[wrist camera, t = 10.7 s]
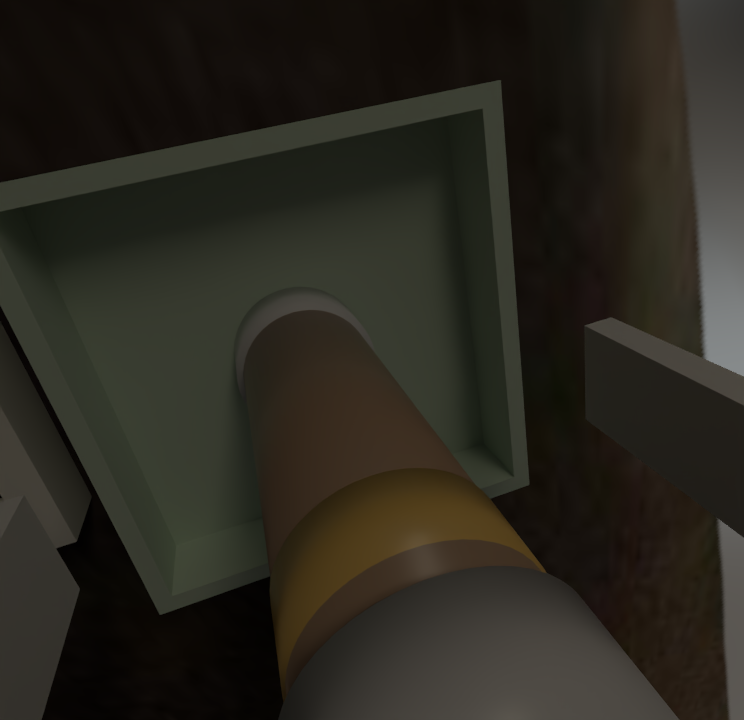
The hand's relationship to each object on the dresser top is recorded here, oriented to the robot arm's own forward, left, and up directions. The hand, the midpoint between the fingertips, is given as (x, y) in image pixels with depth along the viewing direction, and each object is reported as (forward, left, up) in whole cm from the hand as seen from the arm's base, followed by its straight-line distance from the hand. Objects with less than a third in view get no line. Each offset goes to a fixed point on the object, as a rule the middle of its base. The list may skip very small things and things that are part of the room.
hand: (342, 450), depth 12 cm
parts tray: (0, 0, -7) cm, 7 cm away
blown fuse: (0, 0, -7) cm, 7 cm away
